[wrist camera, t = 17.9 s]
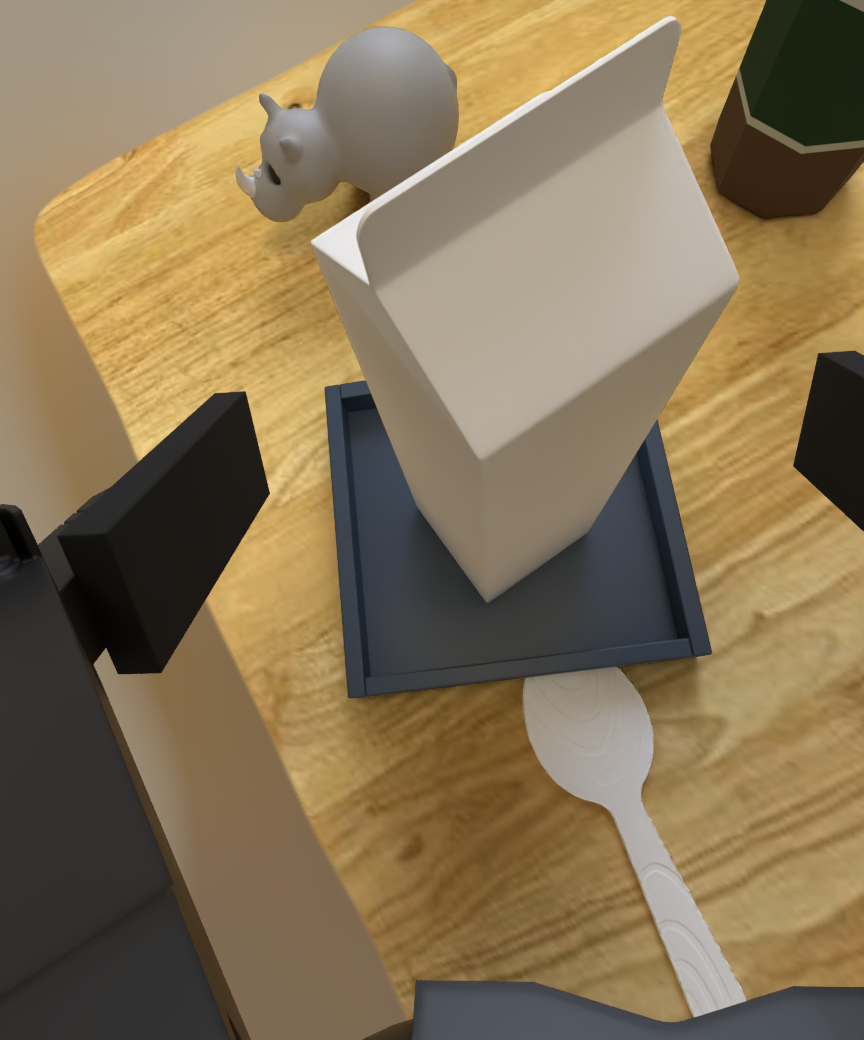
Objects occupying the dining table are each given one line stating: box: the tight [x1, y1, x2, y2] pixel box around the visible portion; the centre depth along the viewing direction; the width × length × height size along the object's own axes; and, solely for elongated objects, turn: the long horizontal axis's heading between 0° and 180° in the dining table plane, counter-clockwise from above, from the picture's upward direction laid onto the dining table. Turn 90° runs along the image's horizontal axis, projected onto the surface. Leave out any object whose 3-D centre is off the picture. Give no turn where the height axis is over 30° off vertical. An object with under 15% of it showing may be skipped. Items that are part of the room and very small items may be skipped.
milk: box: [311, 16, 739, 603], centre depth 19 cm, size 6×6×22 cm
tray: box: [325, 381, 712, 698], centre depth 30 cm, size 16×15×2 cm
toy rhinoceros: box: [236, 27, 459, 222], centre depth 32 cm, size 7×12×8 cm, turn 113°
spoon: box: [522, 667, 747, 1018], centre depth 26 cm, size 5×18×1 cm, turn 23°
